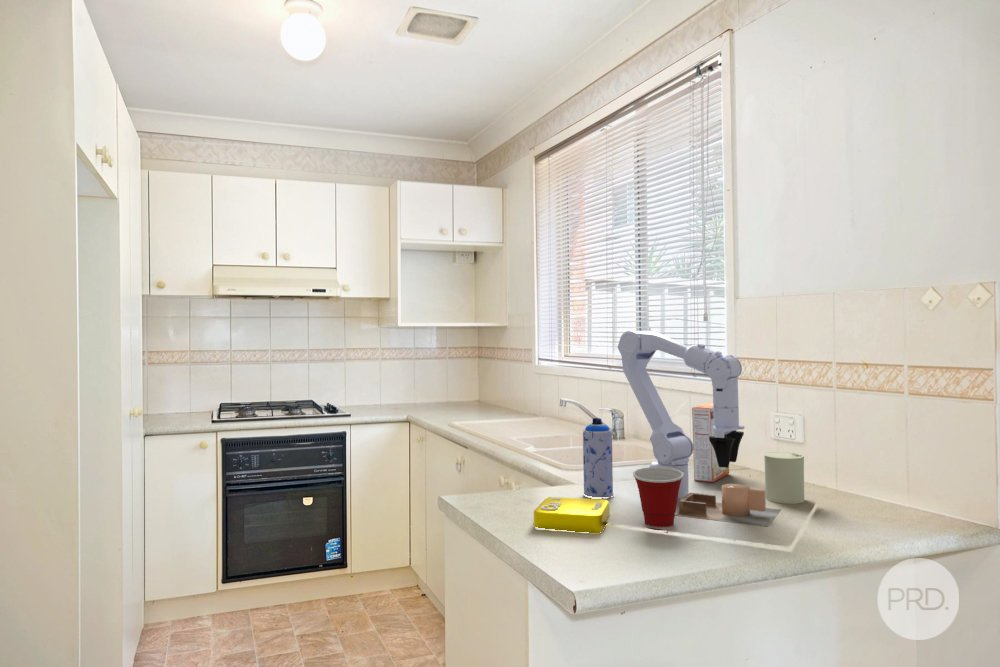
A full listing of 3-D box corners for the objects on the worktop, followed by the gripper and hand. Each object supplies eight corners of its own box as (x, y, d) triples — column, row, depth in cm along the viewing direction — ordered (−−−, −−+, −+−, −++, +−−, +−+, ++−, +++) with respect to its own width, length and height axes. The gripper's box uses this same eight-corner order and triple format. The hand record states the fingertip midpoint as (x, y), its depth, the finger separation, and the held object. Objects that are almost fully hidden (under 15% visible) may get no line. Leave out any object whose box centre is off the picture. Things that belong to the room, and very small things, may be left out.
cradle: (694, 503, 173) (694, 489, 173) (781, 512, 163) (780, 498, 163) (674, 518, 160) (674, 504, 160) (768, 530, 149) (767, 514, 149)
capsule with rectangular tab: (725, 508, 165) (725, 482, 165) (767, 513, 160) (767, 486, 160) (719, 514, 159) (718, 488, 159) (762, 519, 155) (762, 492, 155)
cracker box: (709, 472, 210) (708, 401, 210) (730, 474, 207) (728, 402, 207) (692, 480, 199) (690, 406, 199) (713, 483, 195) (712, 407, 195)
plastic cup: (628, 531, 150) (627, 475, 150) (638, 518, 160) (637, 465, 160) (681, 536, 146) (680, 478, 146) (687, 522, 156) (687, 468, 156)
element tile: (601, 536, 148) (600, 513, 148) (531, 532, 153) (531, 510, 153) (610, 518, 163) (610, 497, 163) (547, 514, 167) (546, 494, 167)
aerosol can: (585, 491, 188) (584, 416, 188) (615, 492, 186) (614, 416, 186) (580, 498, 180) (579, 419, 180) (611, 499, 178) (610, 420, 178)
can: (809, 507, 168) (808, 456, 167) (768, 506, 169) (767, 456, 169) (800, 498, 177) (799, 450, 177) (761, 497, 178) (760, 449, 178)
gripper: (736, 410, 160) (738, 470, 160) (749, 404, 172) (751, 460, 172) (704, 409, 163) (706, 468, 163) (720, 403, 176) (721, 458, 176)
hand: (727, 464), depth 168 cm, fingers open, 7 cm apart
